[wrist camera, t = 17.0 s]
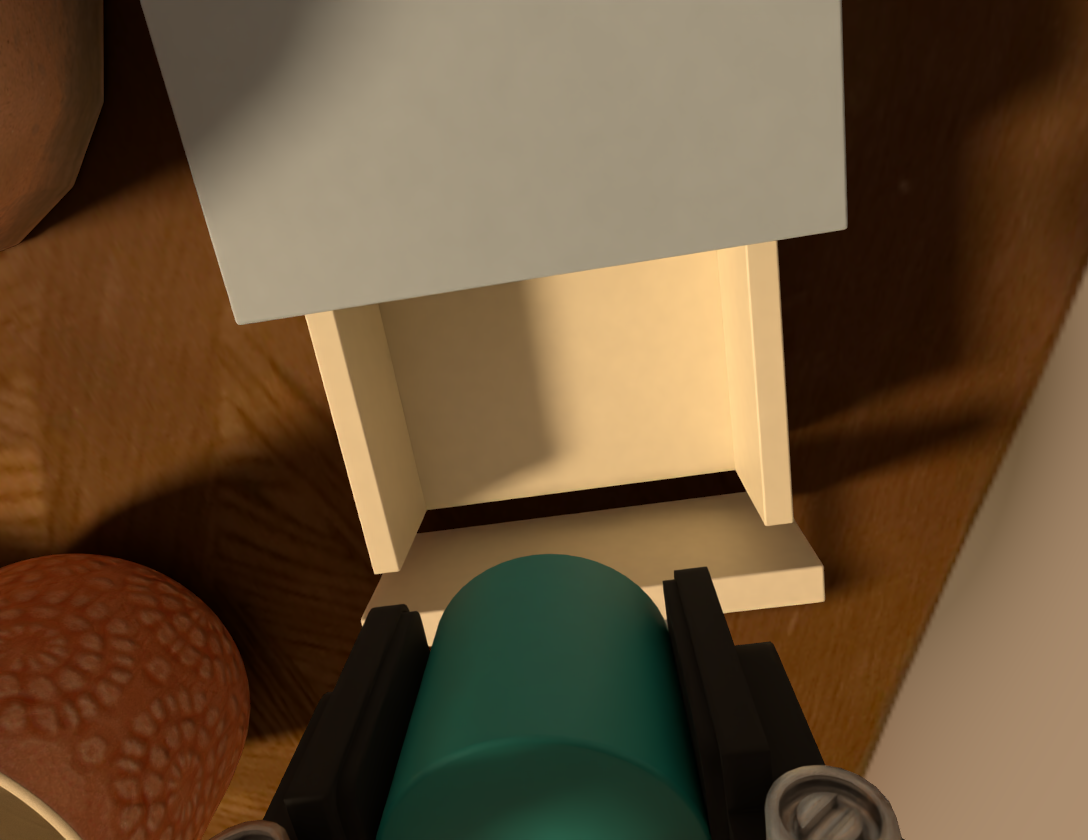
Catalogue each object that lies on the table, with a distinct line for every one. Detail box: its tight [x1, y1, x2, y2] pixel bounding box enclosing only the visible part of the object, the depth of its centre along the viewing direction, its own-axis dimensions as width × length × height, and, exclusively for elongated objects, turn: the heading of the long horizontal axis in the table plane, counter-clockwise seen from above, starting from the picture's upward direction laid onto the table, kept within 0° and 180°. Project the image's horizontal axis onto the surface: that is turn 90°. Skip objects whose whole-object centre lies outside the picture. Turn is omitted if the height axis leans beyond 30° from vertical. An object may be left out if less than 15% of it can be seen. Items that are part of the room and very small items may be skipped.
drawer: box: [305, 240, 825, 646], centre depth 22 cm, size 19×13×5 cm
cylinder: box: [376, 554, 711, 840], centre depth 10 cm, size 4×4×4 cm
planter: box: [0, 554, 250, 840], centre depth 24 cm, size 12×12×11 cm
